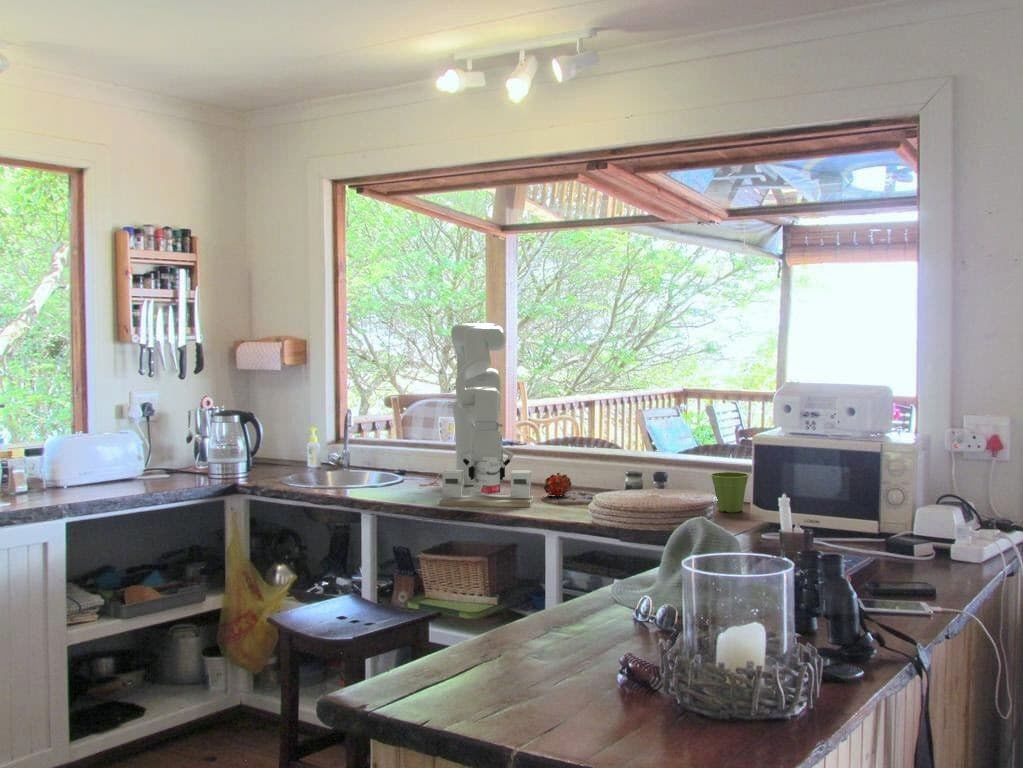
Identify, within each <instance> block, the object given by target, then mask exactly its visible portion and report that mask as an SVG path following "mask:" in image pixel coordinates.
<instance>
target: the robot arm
mask: <svg viewBox="0 0 1023 768" xmlns="http://www.w3.org/2000/svg"><path fill="white" fill-rule="evenodd" d="M450 331H451V332H450V336H451V342H452V345H453V348H454V351H455V353H456V379H455V394H456V395H455V397H456V400H455V401H454V402H453V404H452V414H453V420H454V421H453V423H454V432H455V470H464V486H474V463H475V462H481V461H482V457H497V458H498V461H500V481H502V480H504V478H506V467H507V465H509V463H510V462H511V461H512V458H513V457H514V453H513V452H511V451H509V450H507V449H505V448H503V437H502V431H501V430H499V429H500V428H504V427H503V425H504V424H503V422H499V421H500V417H501V410H502V409H501V401H502V400H501V397H502V395H501V392H502V390H501V388H502V387H501V383H502V382H501V376H500V375H501V374H500V372H499V370H497V369H495V368H492V367H491V366H492V359H491V354H490V352H491V351H502V350H503V349H504V348H505V344H506V335H505V331H504V329H503V328H502V326H501V325H499V324H497V323H478V322H477V323H473V322H472V323H471V322H469V323H458V324H455V325H453V326H452V328H451V330H450ZM504 455H506V456H507V459H506V460H505V461H504V460H503V459H504Z"/></svg>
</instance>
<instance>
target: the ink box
mask: <svg viewBox="0 0 1023 768" xmlns="http://www.w3.org/2000/svg"><path fill="white" fill-rule="evenodd" d="M500 467H501V465H500V461H498V458H497V457H482V461H481V462H475V463H474V485H473V491H474V492H478V493H482V494H483V493H484V494H486V495H491V494H492V495H493V494H499V493H501V480H500Z"/></svg>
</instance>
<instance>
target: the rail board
mask: <svg viewBox="0 0 1023 768" xmlns="http://www.w3.org/2000/svg"><path fill="white" fill-rule="evenodd" d="M531 474H532V471H531V470H511V472H510V494H509V495H507V494H505V495H501V494H500V495H496V494H495V495H494V494H492V495H491V494H465V485H464V470H456V469H444V471H442V479H441V480H442V496H441V499H440V500H439V507H441V506H442V507H503V508H504V507H505V508H506V507H510V508H511V507H516V508H517V507H518V508H520V507H521V508H522V507H523V508H525V507H527V508H530V507H532V504H533V502H534V496H533V495H532V485H531V484H532V475H531Z"/></svg>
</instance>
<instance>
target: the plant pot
mask: <svg viewBox="0 0 1023 768" xmlns="http://www.w3.org/2000/svg"><path fill="white" fill-rule="evenodd" d="M709 475H710V477H711V480H712V484H713V487H714V492H715V498H716V497H717V499H718V501H717V500H716V504H717V510H718V511H719V512H726V513H739V512H742V511H743V507H744V502H745V495H746V494H745V493H746V489H747V484H748V479H749V477H750V473H746V472H740V471H739V472H738V471H737V472H736V471H723V472H713V473H710V474H709Z"/></svg>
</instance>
